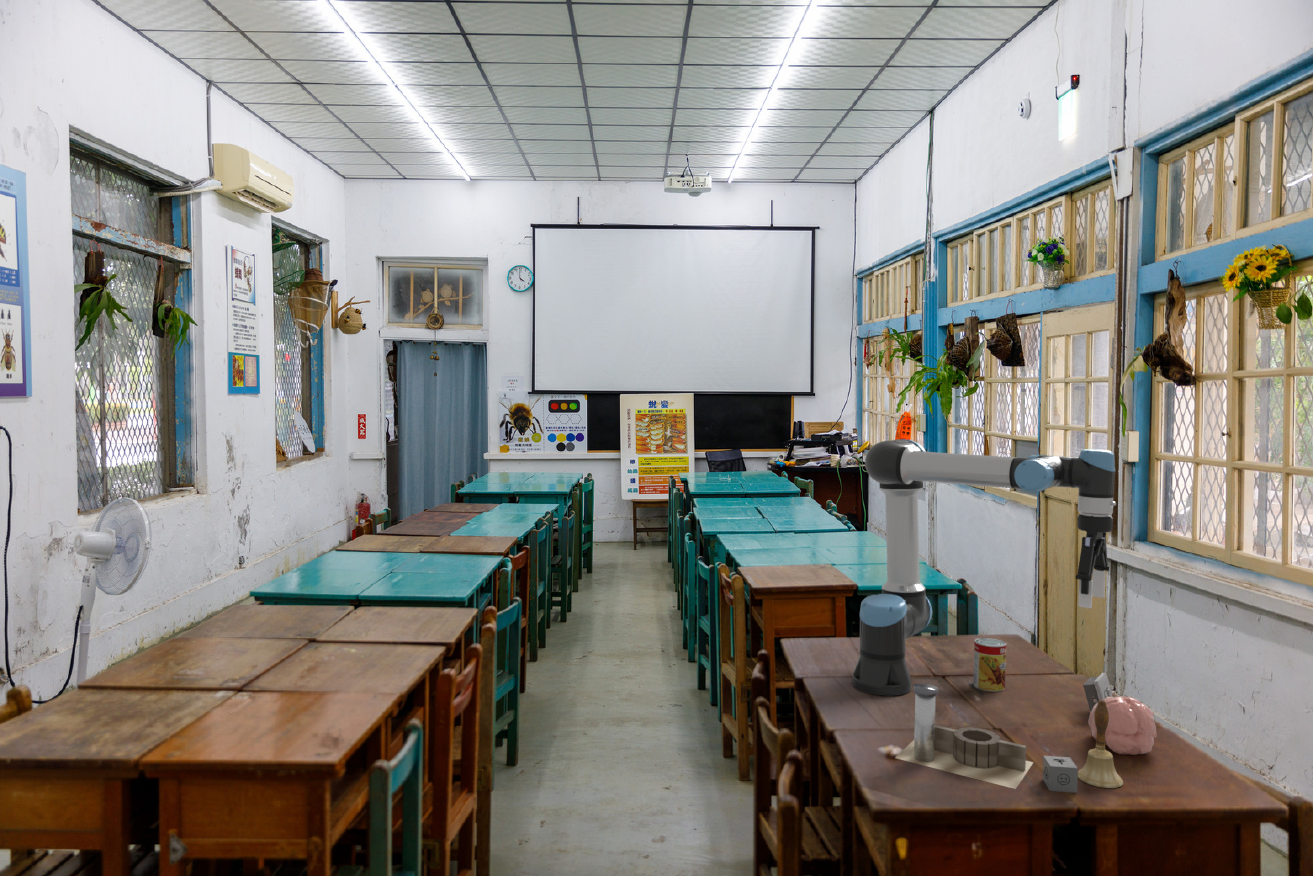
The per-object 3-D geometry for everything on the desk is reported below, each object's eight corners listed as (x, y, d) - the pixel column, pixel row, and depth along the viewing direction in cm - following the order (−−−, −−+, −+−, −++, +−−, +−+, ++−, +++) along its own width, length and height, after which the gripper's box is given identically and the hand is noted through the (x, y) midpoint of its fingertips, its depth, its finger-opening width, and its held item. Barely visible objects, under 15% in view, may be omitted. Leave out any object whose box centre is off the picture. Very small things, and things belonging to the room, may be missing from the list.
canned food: (1009, 692, 225) (1011, 646, 224) (979, 691, 225) (980, 646, 225) (998, 682, 233) (1000, 638, 232) (969, 681, 233) (970, 637, 232)
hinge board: (894, 763, 181) (895, 734, 180) (918, 740, 193) (919, 713, 193) (1015, 795, 167) (1016, 763, 166) (1033, 768, 179) (1034, 738, 179)
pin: (908, 759, 180) (909, 688, 179) (916, 751, 184) (917, 682, 183) (931, 765, 177) (933, 693, 176) (939, 757, 181) (941, 686, 180)
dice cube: (1069, 782, 173) (1069, 757, 173) (1077, 793, 168) (1077, 768, 168) (1042, 780, 174) (1043, 755, 174) (1049, 791, 169) (1050, 766, 169)
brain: (1082, 754, 196) (1075, 698, 201) (1142, 757, 195) (1134, 700, 199) (1107, 753, 182) (1099, 692, 186) (1172, 755, 180) (1163, 694, 184)
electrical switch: (1108, 722, 205) (1105, 682, 205) (1084, 718, 208) (1081, 680, 208) (1116, 711, 212) (1114, 673, 212) (1093, 708, 215) (1090, 670, 215)
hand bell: (1068, 771, 178) (1071, 694, 177) (1107, 769, 178) (1109, 693, 178) (1092, 789, 170) (1094, 709, 169) (1132, 788, 170) (1135, 708, 169)
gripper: (1100, 521, 195) (1096, 614, 196) (1123, 510, 214) (1119, 595, 215) (1064, 518, 199) (1061, 609, 201) (1090, 507, 219) (1087, 590, 220)
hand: (1091, 602), depth 208 cm, fingers open, 13 cm apart
